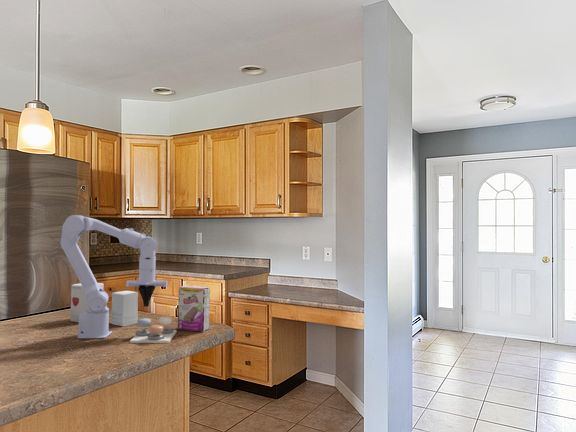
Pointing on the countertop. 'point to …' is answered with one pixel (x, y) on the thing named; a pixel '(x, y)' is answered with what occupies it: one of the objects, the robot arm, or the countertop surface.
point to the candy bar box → (193, 308)
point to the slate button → (143, 322)
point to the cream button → (165, 320)
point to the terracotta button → (156, 329)
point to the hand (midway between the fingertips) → (146, 306)
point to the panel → (153, 336)
